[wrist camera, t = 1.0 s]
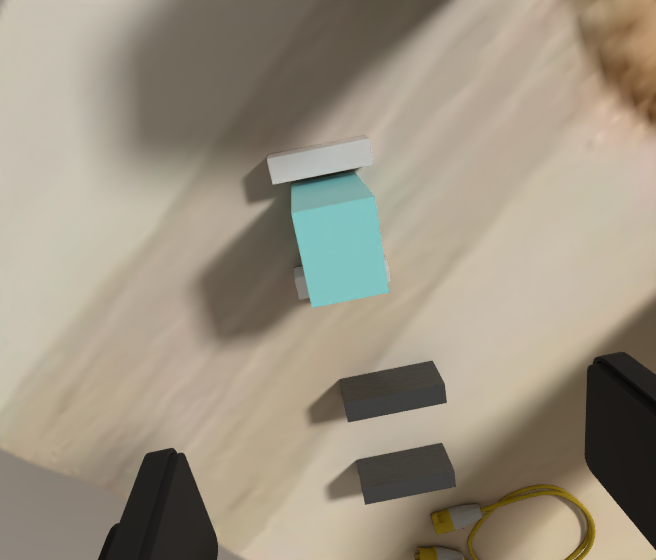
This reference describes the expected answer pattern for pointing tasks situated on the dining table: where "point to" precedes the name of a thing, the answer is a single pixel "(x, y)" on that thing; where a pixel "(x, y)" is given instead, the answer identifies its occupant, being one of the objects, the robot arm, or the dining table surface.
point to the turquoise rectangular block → (338, 239)
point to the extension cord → (468, 514)
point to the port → (392, 397)
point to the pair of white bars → (316, 164)
